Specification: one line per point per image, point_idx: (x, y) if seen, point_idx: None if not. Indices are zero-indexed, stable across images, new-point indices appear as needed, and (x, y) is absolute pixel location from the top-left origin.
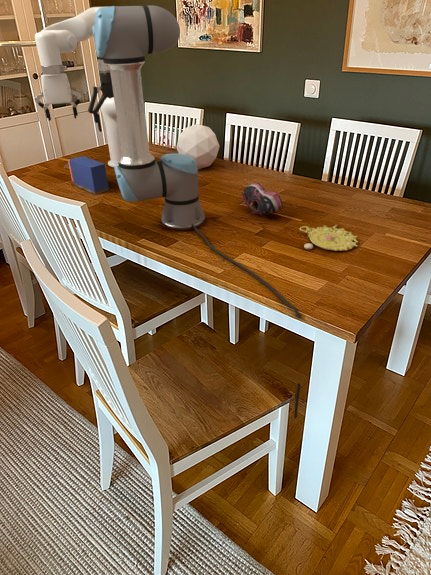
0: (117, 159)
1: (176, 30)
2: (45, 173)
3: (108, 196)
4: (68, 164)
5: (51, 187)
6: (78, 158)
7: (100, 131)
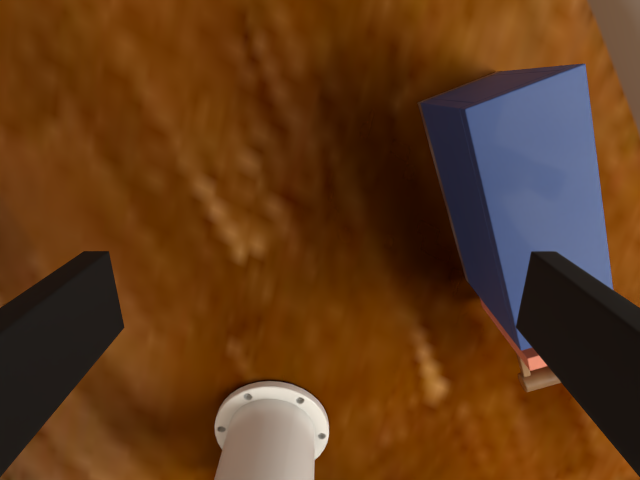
0: (289, 421)
1: None
2: (581, 441)
3: (448, 4)
4: (556, 377)
5: (630, 272)
6: None
7: (551, 253)
